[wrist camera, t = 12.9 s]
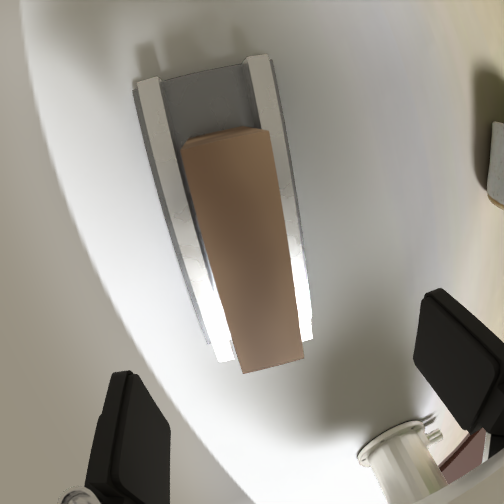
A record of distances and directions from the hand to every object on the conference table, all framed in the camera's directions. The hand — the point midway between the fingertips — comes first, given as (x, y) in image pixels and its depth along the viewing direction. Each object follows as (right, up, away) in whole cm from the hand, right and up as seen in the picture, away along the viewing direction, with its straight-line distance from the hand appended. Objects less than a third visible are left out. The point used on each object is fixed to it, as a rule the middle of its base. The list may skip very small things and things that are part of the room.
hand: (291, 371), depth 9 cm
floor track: (-3, +6, +13) cm, 15 cm away
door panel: (-2, +6, +12) cm, 14 cm away
